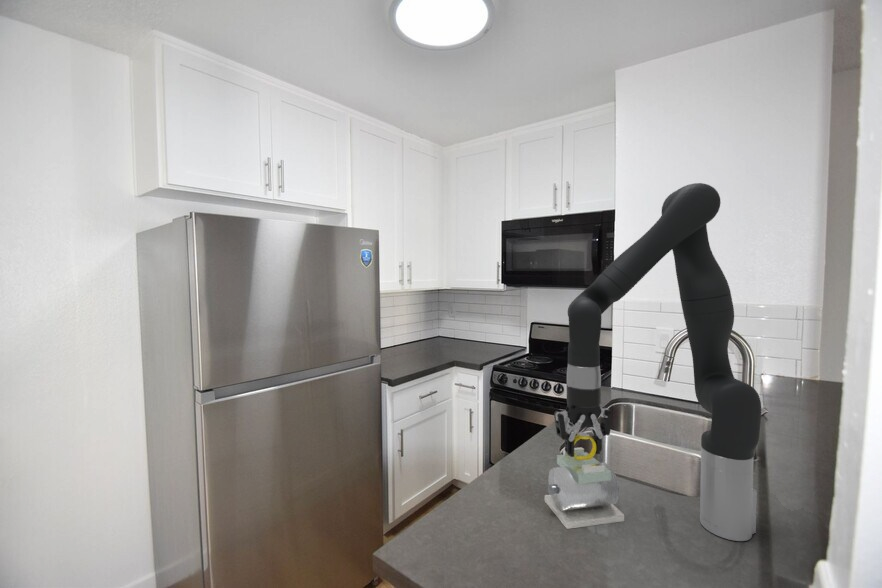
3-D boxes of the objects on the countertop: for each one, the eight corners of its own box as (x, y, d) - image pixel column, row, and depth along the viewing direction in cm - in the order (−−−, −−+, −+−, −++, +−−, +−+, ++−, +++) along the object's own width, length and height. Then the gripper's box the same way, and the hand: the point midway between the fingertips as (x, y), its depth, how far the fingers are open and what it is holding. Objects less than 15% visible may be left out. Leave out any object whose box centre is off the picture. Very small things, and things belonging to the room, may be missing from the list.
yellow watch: (591, 456, 94) (593, 432, 94) (597, 461, 91) (599, 436, 91) (567, 456, 93) (569, 431, 93) (573, 461, 90) (574, 436, 90)
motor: (596, 494, 99) (596, 444, 99) (624, 521, 88) (624, 464, 88) (539, 501, 96) (539, 449, 96) (560, 529, 86) (560, 471, 85)
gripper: (602, 377, 96) (601, 444, 97) (547, 381, 94) (547, 450, 94) (621, 385, 89) (620, 458, 90) (562, 389, 86) (562, 464, 87)
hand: (583, 453), depth 92 cm, fingers closed on yellow watch, 6 cm apart
